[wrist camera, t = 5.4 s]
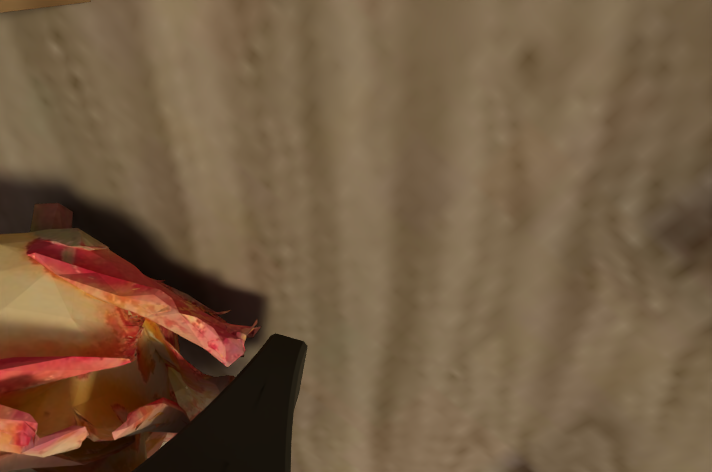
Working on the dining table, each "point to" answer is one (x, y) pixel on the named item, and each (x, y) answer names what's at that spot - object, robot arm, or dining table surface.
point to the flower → (96, 353)
